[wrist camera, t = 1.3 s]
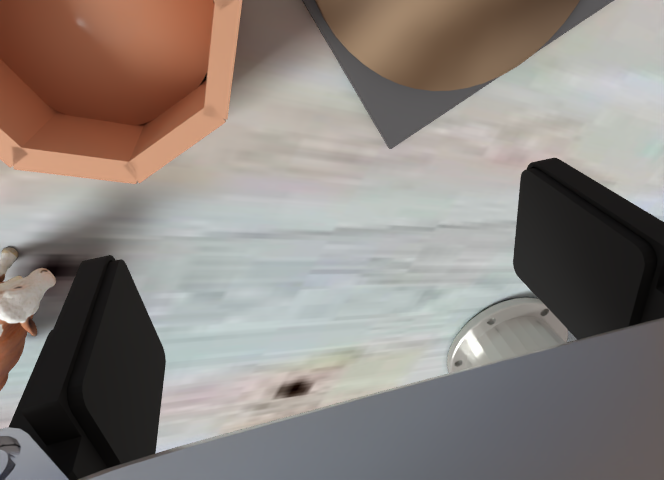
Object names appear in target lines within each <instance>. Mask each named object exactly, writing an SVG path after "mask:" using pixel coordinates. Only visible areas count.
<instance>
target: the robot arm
mask: <svg viewBox="0 0 664 480" xmlns="http://www.w3.org/2000/svg"><path fill="white" fill-rule="evenodd" d="M513 265H514V269H515V272H516V274H517V276H518V277H519V278H520V279H521V280H522V281H523V282H524V283H525V284H526V285H527V286H528V288H529V289H530V290H531V291H532V292H533V293H534V294H535V295H536V296H537V297H538V298H539V299H538V298H528V297H527V298H516V299H512V300H507V301H504V302H501V303H498V304H496V305H493V306H491V307H490V308H488V309H486V310H484V311H482V312H481V313H479V314H478V315H477V316H475V317H474V318H473V319H471V320H470V321H469V322H468V323H467V324H466V325H465V326H464V327H463V328H462V329H461V331H460V332H459V333H458V335H457V336H456V337H455V339H454V341H453V343H452V345H451V347H450V350H449V353H448V356H447V368H448V373H449V374H445V375H441V376H437V377H434V378H430V379H426V380H422V381H419V382H415V383H411V384H407V385H404V386H400V387H396V388H393V389H389V390H385V391H381V392H378V393H374V394H370V395H366V396H363V397H359V398H355V399H351V400H348V401H344V402H340V403H337V404H333V405H329V406H326V407H322V408H318V409H315V410H311V411H307V412H304V413H300V414H296V415H293V416H289V417H285V418H282V419H278V420H274V421H271V422H267V423H263V424H260V425H256V426H252V427H249V428H245V429H241V430H237V431H234V432H230V433H226V434H223V435H219V436H216V437H212V438H208V439H205V440H201V441H197V442H194V443H190V444H186V445H183V446H179V447H175V448H172V449H169V450H166V451H162V452H159V453H156V454H155V451H156V443H157V434H158V425H159V416H160V407H161V399H162V390H163V381H164V372H165V362H166V360H165V353H164V349H163V346H162V344H161V342H160V340H159V337H158V335H157V333H156V331H155V328H154V326H153V324H152V322H151V319H150V317H149V315H148V313H147V310H146V308H145V306H144V304H143V301H142V299H141V297H140V295H139V292H138V290H137V288H136V286H135V283H134V281H133V279H132V277H131V274H130V272H129V270H128V268H127V265H126V264H125V262H124V261H123V260H122V259H121V260H115V259H114V257H113V256H111V255H109V256H104V257H99V258H95V259H90V260H86V261H83V262H82V263H81V265H80V267H79V270H78V272H77V274H76V277H75V279H74V281H73V284H72V286H71V289H70V291H69V293H68V296H67V298H66V300H65V303H64V305H63V308H62V310H61V312H60V315H59V317H58V319H57V322H56V324H55V327H54V329H53V330H51V332H50V333H49V335H48V337H47V339H46V341H45V344H44V346H43V348H42V351H41V353H40V355H39V358H38V360H37V362H36V365H35V367H34V369H33V372H32V374H31V376H30V379H29V381H28V383H27V386H26V388H25V390H24V393H23V395H22V397H21V400H20V402H19V404H18V407H17V409H16V411H15V414H14V416H13V418H12V421H11V423H10V425H9V427H8V428H3V429H0V480H664V222H663V221H661V220H659V219H658V218H656V217H654V216H653V215H651V214H649V213H648V212H646V211H644V210H643V209H641V208H639V207H638V206H636V205H634V204H633V203H631V202H629V201H628V200H626V199H624V198H623V197H621V196H619V195H618V194H616V193H614V192H613V191H611V190H609V189H608V188H606V187H604V186H603V185H601V184H599V183H598V182H596V181H594V180H593V179H591V178H589V177H588V176H586V175H584V174H583V173H581V172H579V171H578V170H576V169H574V168H573V167H571V166H569V165H568V164H566V163H564V162H563V161H561V160H559V159H557V158H551V159H546V160H541V161H537V162H532V163H530V164H529V165H528V167H527V170H524V171H523V172H522V174H521V181H520V192H519V203H518V214H517V225H516V236H515V248H514V259H513ZM568 330H569V331H570V332H571V333H572V334H573V335H574V336H575V338H576V339H577V340H575V341H571V342H567V338H568ZM566 342H567V343H566Z"/></svg>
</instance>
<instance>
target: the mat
mask: <svg viewBox="0 0 664 480" xmlns="http://www.w3.org/2000/svg"><path fill="white" fill-rule="evenodd" d="M612 1H614V0H580V1H579V3H578V4H577V6H576V7H575V9H574V10H573V11H572V13H571V14H570V15H569V17H568V18H567V20H566V21H565V22H564V24H563V25H562V26H561V27H560V28H559V29H558V30H557V32H556V33H555V34H554V35H553V36H552V37H551V38H550V39H549V40H548V41H547V42H546V43H545V44H544V45H543V46H542V47H541V48H540V49H542V48H543V47H545V46H546V45H548V44H549V43H551V42H552V41H554V40H555V39H557V38H558V37H560V36H561V35H563V34H564V33H566V32H567V31H569V30H570V29H572V28H573V27H575V26H576V25H578V24H579V23H581V22H582V21H584V20H585V19H587V18H588V17H590V16H591V15H593V14H594V13H596V12H597V11H599V10H600V9H602V8H603V7H605V6H606V5H608V4H609V3H611V2H612ZM303 2H304V4H305V6H306V7H307V9H308V11H309V12H310V14H311V16H312V18H313V19H314V21H315V23H316V24H317V26H318V28H319V30H320V31H321V33H322V35H323V36H324V38H325V40H326V42H327V43H328V45H329V47H330V48H331V50H332V52H333V54H334V55H335V57H336V59H337V60H338V62H339V64H340V66H341V67H342V69H343V71H344V72H345V74H346V76H347V78H348V79H349V81H350V83H351V84H352V86H353V88H354V90H355V91H356V93H357V95H358V96H359V98H360V100H361V101H362V103H363V105H364V107H365V108H366V110H367V112H368V113H369V115H370V117H371V119H372V120H373V122H374V124H375V125H376V127H377V129H378V131H379V132H380V134H381V136H382V137H383V139H384V141H385V143H386V144H387V146H388V148H389V149H392V148H393V147H395V146H396V145H398V144H399V143H401V142H402V141H404V140H405V139H407V138H408V137H410V136H411V135H413V134H414V133H416V132H417V131H419V130H420V129H422V128H423V127H425V126H426V125H428V124H429V123H431V122H432V121H434V120H435V119H437V118H438V117H440V116H441V115H443V114H444V113H446V112H447V111H449V110H450V109H452V108H453V107H455V106H456V105H458V104H459V103H461V102H462V101H464V100H465V99H467V98H468V97H470V96H471V95H473V94H474V93H476V92H477V91H479V90H480V89H482V88H483V87H485V86H486V85H488V84H489V83H491V82H492V81H494V80H495V79H497V78H498V77H497V78H495V79H492V80H490V81H488V82H486V83H483V84H479V85H476V86H472V87H469V88H464V89H458V90H451V91H429V90H421V89H414V88H411V87H407V86H404V85H400V84H397V83H395V82H393V81H391V80H389V79H386V78H384V77H382V76H381V75H379V74H377V73H376V72H374V71H373V70H371V69H370V68H368V67H367V66H365V65H364V64H363V63H361V62H360V61H359V60H358V59H357V58H356V57H355V56H353V55H352V54H351V53H350V52H349V51H348V50H347V49H346V48H345V47H344V46H343V45H342V43H341V42H340V41H339V40H338V39H337V38H336V36H335V35H334V34H333V32H332V31H331V29H330V28H329V26H328V25H327V23H326V22H325V20H324V18H323V16H322V14H321V12H320V10H319V8H318V6H317V4H316V2H315V0H303ZM540 49H539V50H540ZM539 50H538V51H539ZM535 53H536V52H535ZM499 77H500V76H499Z"/></svg>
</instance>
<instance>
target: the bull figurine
mask: <svg viewBox="0 0 664 480" xmlns="http://www.w3.org/2000/svg"><path fill="white" fill-rule="evenodd" d="M17 257H18V252H17V251H16V250H15V249H13V248H11V247H6V248H4V249H3V250H2V253H1V258H0V391H1V389H2V388H3V387H4V385H5V383H6V381H7V379H8V373H9V371H10V370H11V369H12V368H13V367H14V366H15V364H16V363H17V362H18V360H19V358H20V356H21V354H22V352H23V348H24V344H25V338H26V335H27V332H29V333H30V334H31V335H32V336H36V335H37V328H36V325H35V323H34V322H33V320H32V318H33V315H34V313H36V311H37V310H38V308H39V303H40V301H41V299H42V298H43V296H44V294H45V292H46V291H47V290H48V289H49V288H51V287H53V286H54V285H55V283H56V278H55V277H54V275H53V274H52V273H51V272H50V271H49V270H47V269H44V268H39V269H36V270H34V271H33V272H31V274H30V275H29V276H27V277H25V278H22V277H21V276H16V277H14V278H12V279H10V280H8V281H6V282H3V280H4V278H5V274H6V271H7V269H8V268H10V266H11V265H12V264H13V263H14V261H15V260H16V259H17Z"/></svg>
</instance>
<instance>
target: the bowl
mask: <svg viewBox="0 0 664 480" xmlns="http://www.w3.org/2000/svg"><path fill="white" fill-rule="evenodd" d="M241 7H242V0H214V1H213V0H0V159H1V160H2V161H3V162H4V163H5V164H6V165H8V166H9V167H12V166H14V169H15V170H24V171H32V172H40V173H49V174H57V175H66V176H74V177H82V178H91V179H99V180H107V181H116V182H124V183H132V184H136V183H137V181H138V182H139V183H141V182H142V181H143V180H145V179H146V178H148V177H149V176H150V175H152V174H153V173H155V172H156V171H157V170H159V169H160V168H162V167H163V166H165V165H166V164H167V163H169V162H170V161H172V160H173V159H174V158H176V157H177V156H179V155H180V154H181V153H183V152H184V151H186V150H187V149H188V148H190V147H191V146H193V145H194V144H196V143H197V142H198V141H200V140H201V139H203V138H204V137H205V136H207V135H208V134H210V133H211V132H212V131H214V130H215V129H217V128H218V127H219V126H221V125H222V124H224V123H225V122H226V119H227V118H228V110H229V102H230V94H231V86H232V78H233V70H234V63H235V55H236V47H237V39H238V31H239V23H240V15H241ZM206 73H207V77H206V78H205V79H204V77H205V75H206ZM203 79H204V80H203Z"/></svg>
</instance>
